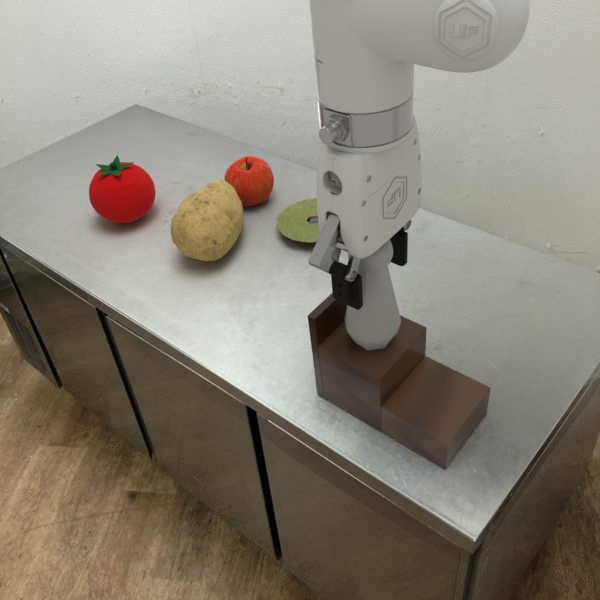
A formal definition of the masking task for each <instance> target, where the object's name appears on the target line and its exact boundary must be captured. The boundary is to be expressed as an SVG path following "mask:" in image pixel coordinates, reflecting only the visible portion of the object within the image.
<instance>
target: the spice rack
mask: <svg viewBox="0 0 600 600" xmlns="http://www.w3.org/2000/svg"><path fill="white" fill-rule="evenodd" d="M346 310H347V305H346V304H343V303H341V302H339V301H338V300H336V299H334V297H333V292H331V293H330V294H329V295H328V296H327V297H326V298H325V299H324V300H322V302H321V303H319V304H318V305H317V306H316V307H315V308H314V309H313V310H312V311H310V312H309V314H307V323H308V330H309V338H310V349H311V355H312V362H313V363H312V364H313V370H314V380H315V387H316V394H317V396H318V397H320V398H322V399H324V400H325V401H327V402H329V403H330V404H332V405H334V406H336V407H337V408H339V409H340V410H342V411H344V412H346V413H347V414H349V415H351V416H352V417H354V418H356V419H358V420H360V421H361V422H363V423H364V424H366V425H368V426H370V427H372V428H374V429H375V430H376V431H378V432H381V433H382V434H383V435H385V436H387V437H389V438H390V439H393V440H394V441H396V442H397V443H399V444H401V445H403V446H405V447H406V448H408V449H410V450H411V451H413V452H415V453H416V454H418V455H420V456H421V457H423V458H425V459H427V460H428V461H430V462H432V463H434V464H436V465H437V466H439V467H440V468H442V469H444V470H447V468H448V467H449V466H450V464H451V463H452V461H453V460H454V459H455V457H456V456H457V454H459V452H460V450H461V449H462V448H463V446H465V444H466V443H467V442H468V440H469V438H470V437H471V435H473V433H474V431H475V430H476V429H477V428H478V427H479V425H480V423H481V422H482V421H483V419H484V418H485V417H486V415H487V413H488V408H489V402H490V394H491V390H492V389H491V387H490V386H488V385H486V384H484V383H483V382H480V381H478V380H476V379H474V378H472V377H470V376H468V375H466V374H465V373H461V372H459V371H458V370H455V369H453V368H451V367H450V366H448V365H445V364H443V363H441V362H439V361H437V360H435V359H433V358H431V357H429V356H426V347H427V328H428V327H427V326H424V325H423V324H420V323H418V322H416V321H413V320H411V319H409V318H407V317H405V316H403V315H402V314H400V318H401V324H400V327H399V329H398V332H397V334H396V335H395V336H394V337H393V338H392V339H391V340H390V342H389V343H388V344H387V346H386V347H385V348H382V349H375V350H366V349H364V348H363V347H361V346H360V345H358V344H356V343H355V342H354V341H353V339H352V338H351V336H350V335H349V334H348V332H347V329H346V324H345V315H346Z"/></svg>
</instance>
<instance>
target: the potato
mask: <svg viewBox="0 0 600 600" xmlns="http://www.w3.org/2000/svg"><path fill="white" fill-rule="evenodd" d="M244 221H245V213H244V206H243V205H242V202H241V200H240V198H239V197H238V195H237V193H236V191H235V189H234V188H233V187H232V185H230V184H229V183H227V182H226V181H225V179H215V180H212V181H211V182H209V183H208V184H206V185H205V186H203V187H202V188H200V189H199V190H196V191H194V192H192V193H190V194H188V195H187V196H186V197H185V198H184V199H183V200H182V202H181V203H180V204H179V206H178V208H177V210H176V212H175V213H174V215H173V216H172V218H171V222H170V235H171V240H172V243H173V244H174V246H175V247H176V248H177V250H179V252H180V253H182V254H183V255H185V256H186V257H187V258H191V259H194V260H198V261H203V262H215V261H218V260H220V259H222V258H223V257H224V256H226V254H228V252H229V251H230V250H231V249H232V247H234V245H235V244H236V242H237V239H238V238H239V236H240V235H241V232H242V229H243V227H244Z"/></svg>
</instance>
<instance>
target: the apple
mask: <svg viewBox="0 0 600 600" xmlns="http://www.w3.org/2000/svg"><path fill="white" fill-rule="evenodd" d="M224 181H226V182H227V183H229V184H230V185H232V187H233V188H234V189H235V191H236V193H237V195H238V197H239V198H240V200H241V202H242V207H254V206H258V205H261V204H263V203H265V202H266V201H267V200H268V199H269V197H270V195H271V194H272V191H273V189H274V186H275V185H274V184H275V177H274V173H273V171H272V168H271V166H270V164H269V163H268V162H267V161H266V160H264V159H262V158H260V157H258V156H254V155H246V156H243V157H241V158H238V159H237V160H234V162H232V163H231V164H230V165H229V167H228V168H227V169H226V171H225V173H224Z"/></svg>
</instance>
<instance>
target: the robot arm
mask: <svg viewBox="0 0 600 600" xmlns="http://www.w3.org/2000/svg"><path fill="white" fill-rule="evenodd" d="M308 6H309V7H308V8H309V16H310V17H309V18H310V27H311V41H312V54H313V64H314V73H315V85H316V86H315V87H316V99H317V112H318V123H319V131H318V137H319V139H320V142H319V144H318V155H317V168H316V169H317V170H316V198H317V211H318V223H319V230H320V236H319V238H318V240H317V242H315V245H314V247H313V248H312V251H311V253H310V256H309V258H308V265H309V266H312V267H313V268H316V269H318V270H320V271H322V272H324V273H326V274H329V275H330V280H331V291H332V292H331V293H333V297H334V299H336V300H338V301H339V302H341V303H343V304H346V305H348V306H350V307H352V308H354V309H356V310H359V309H360V308H361V307H362V306H363V290H362V276H361V275H360V274H357V272H358V268H359V264H360V260H361V259H363V258H366V257H368V256H370V255H371V254H373V253H374V252H375V251H377V250H378V249H379V248H380V247H381V246H382V245H383V244H385V243H386V242H387V241H388V240H389V239H390V241H391V243H392V247H393V257H392V259H391V262H390V263H391V264H394V265H397V266H399V267H404V266H406V265H407V263H408V251H409V250H408V247H409V244H408V243H409V232H407V231H409V229H410V228H411V225H412V219H413V218H414V217H415V216H416V215H417V213H418V212H419V210H420V207H421V205H422V188H423V187H422V178H423V177H422V157H421V156H422V155H421V145H420V143H421V142H420V136H419V129H418V124H417V121H416V120H417V119H416V116H415V115H414V81H415V80H414V79H415V65H418V66H421V67H425V68H429V69H433V70H434V69H435V70H439V71H444V72H451V73H465V74H466V73H478V72H482V71H487V70H489V69H491V68H494V67H496V66H497V65H499V64H501V63H503V62H504V61H505V60H506V59H508V58H509V57H510V56H511V55H512V54H513V52H515V50H516V49H517V47H518V46H519V44H520V43H521V42H522V39H523V38H524V36H525V32H526V30H527V27H528V24H529V19H530V18H529V17H530V10H531V0H308ZM342 251H344V252H346V253H347V252H348V253H350V256H349V259H348V261H347V264H345V263H343V262H340V256H341V253H342ZM348 253H347V254H348Z"/></svg>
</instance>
